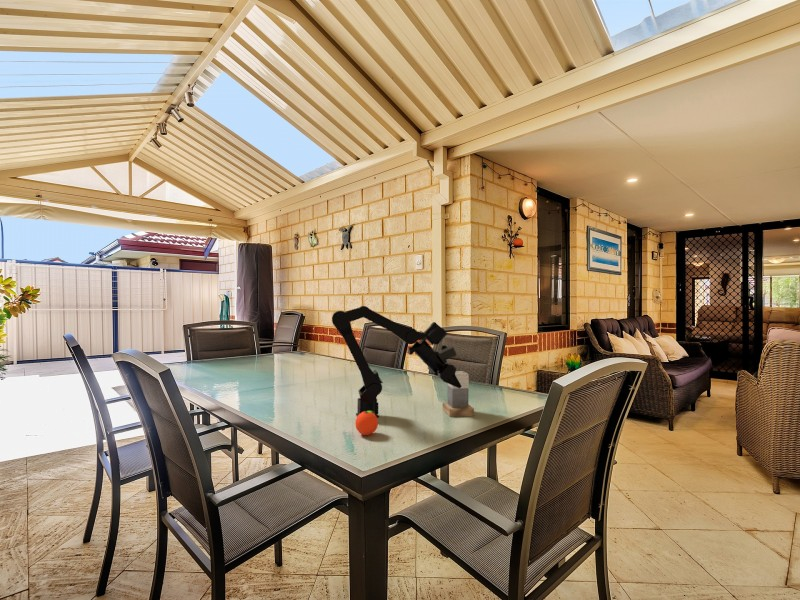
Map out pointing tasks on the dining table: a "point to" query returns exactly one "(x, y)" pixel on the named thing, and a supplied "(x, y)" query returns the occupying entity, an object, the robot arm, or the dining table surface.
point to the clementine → (366, 423)
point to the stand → (458, 411)
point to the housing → (459, 391)
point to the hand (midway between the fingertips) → (456, 384)
